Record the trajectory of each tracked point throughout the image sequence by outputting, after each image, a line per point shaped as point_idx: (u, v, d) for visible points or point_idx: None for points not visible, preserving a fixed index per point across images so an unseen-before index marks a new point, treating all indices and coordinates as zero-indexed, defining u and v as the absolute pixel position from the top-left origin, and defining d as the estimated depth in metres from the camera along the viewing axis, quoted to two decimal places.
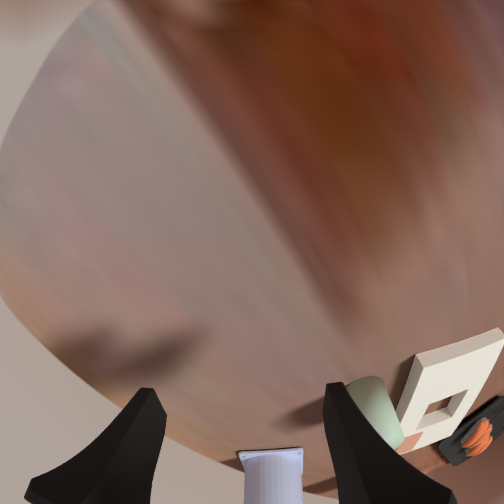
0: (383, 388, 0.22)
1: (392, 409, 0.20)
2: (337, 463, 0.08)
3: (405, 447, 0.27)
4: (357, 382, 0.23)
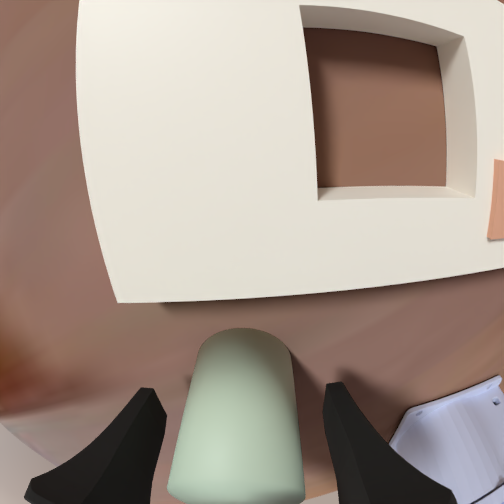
0: (199, 364, 0.11)
1: (190, 411, 0.09)
2: (337, 463, 0.08)
3: None
4: None
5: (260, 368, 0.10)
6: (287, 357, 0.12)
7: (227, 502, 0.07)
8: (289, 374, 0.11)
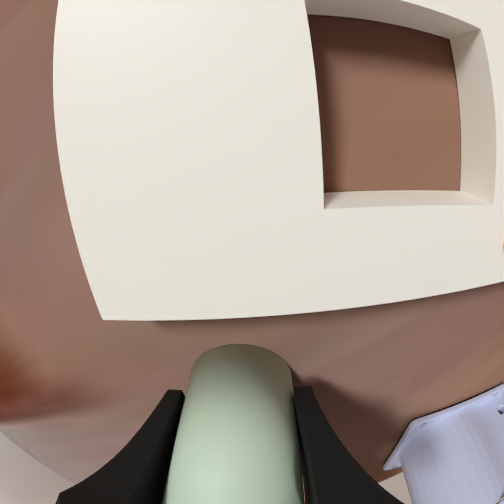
0: (192, 382, 0.10)
1: (182, 436, 0.08)
2: (303, 468, 0.08)
3: None
4: None
5: (257, 389, 0.09)
6: (287, 374, 0.11)
7: None
8: (289, 394, 0.10)
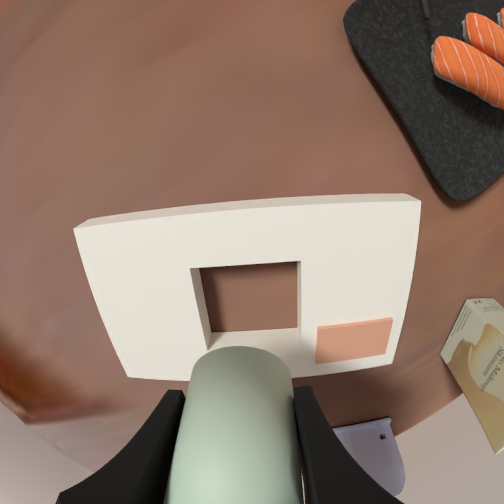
0: (194, 383, 0.10)
1: (184, 437, 0.08)
2: (303, 468, 0.08)
3: (362, 343, 0.17)
4: None
5: (260, 392, 0.09)
6: (288, 377, 0.11)
7: None
8: (290, 397, 0.10)
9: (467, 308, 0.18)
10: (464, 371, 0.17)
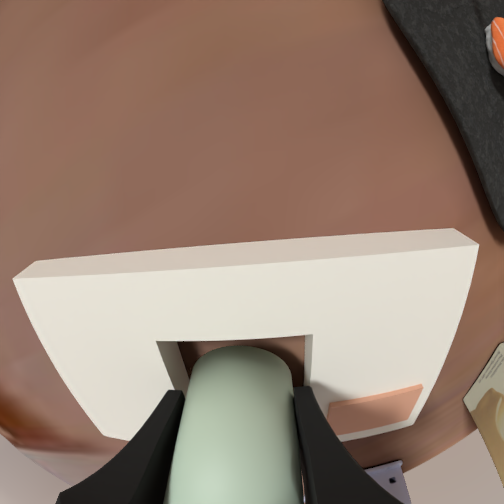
0: (194, 383, 0.10)
1: (184, 437, 0.08)
2: (303, 468, 0.08)
3: (383, 414, 0.12)
4: None
5: (260, 392, 0.09)
6: (288, 377, 0.11)
7: None
8: (290, 396, 0.10)
9: (500, 354, 0.13)
10: (490, 423, 0.12)
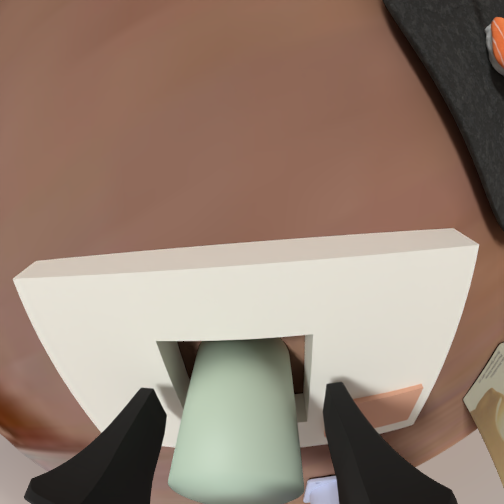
0: (200, 358, 0.11)
1: (191, 405, 0.09)
2: (337, 463, 0.08)
3: (383, 414, 0.12)
4: None
5: (260, 363, 0.10)
6: (286, 354, 0.12)
7: (226, 496, 0.07)
8: (288, 371, 0.11)
9: (500, 354, 0.13)
10: (489, 423, 0.12)
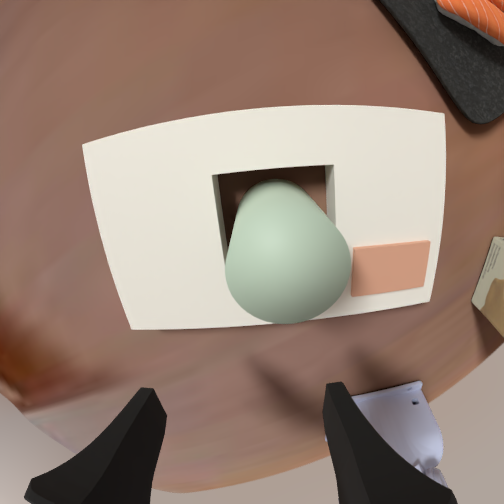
0: (244, 198, 0.15)
1: (244, 209, 0.12)
2: (337, 463, 0.08)
3: (401, 270, 0.15)
4: None
5: (296, 188, 0.14)
6: None
7: (280, 281, 0.10)
8: None
9: (495, 245, 0.16)
10: (501, 312, 0.15)
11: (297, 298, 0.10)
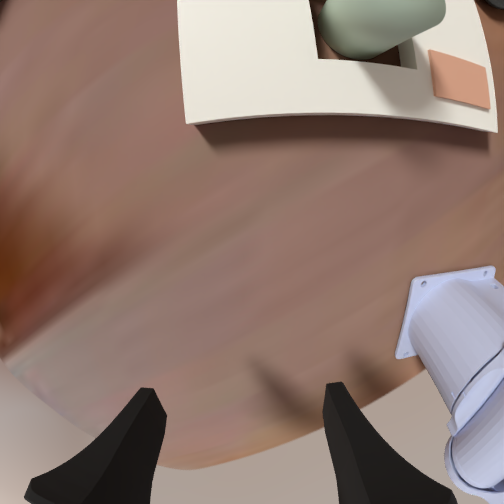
0: None
1: None
2: (337, 463, 0.08)
3: (470, 83, 0.11)
4: (323, 35, 0.13)
5: None
6: None
7: None
8: None
9: None
10: None
11: (412, 5, 0.06)
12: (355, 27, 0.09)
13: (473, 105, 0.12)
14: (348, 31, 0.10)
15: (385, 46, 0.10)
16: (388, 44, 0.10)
